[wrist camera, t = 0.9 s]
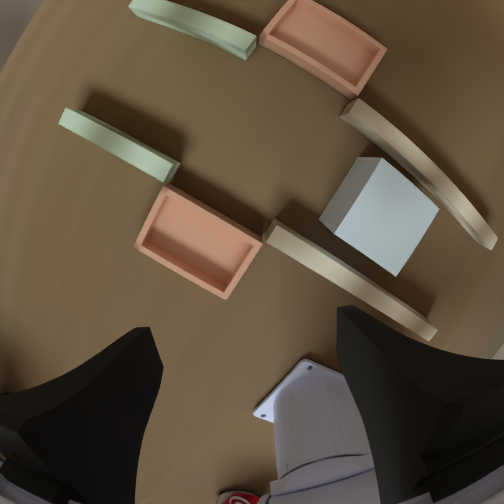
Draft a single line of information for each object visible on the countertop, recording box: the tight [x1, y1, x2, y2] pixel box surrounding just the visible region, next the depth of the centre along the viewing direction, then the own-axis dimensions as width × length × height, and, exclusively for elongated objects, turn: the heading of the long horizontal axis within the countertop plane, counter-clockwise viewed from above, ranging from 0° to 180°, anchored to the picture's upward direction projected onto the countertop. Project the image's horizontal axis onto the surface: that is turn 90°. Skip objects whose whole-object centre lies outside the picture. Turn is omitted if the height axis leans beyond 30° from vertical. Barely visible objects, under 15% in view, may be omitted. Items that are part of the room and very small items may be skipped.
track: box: [59, 0, 498, 341], centre depth 17 cm, size 32×10×2 cm, turn 59°
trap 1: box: [134, 184, 263, 300], centre depth 19 cm, size 7×4×2 cm, turn 59°
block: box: [319, 157, 439, 276], centre depth 17 cm, size 5×5×4 cm
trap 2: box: [259, 0, 387, 100], centre depth 15 cm, size 7×4×2 cm, turn 59°
